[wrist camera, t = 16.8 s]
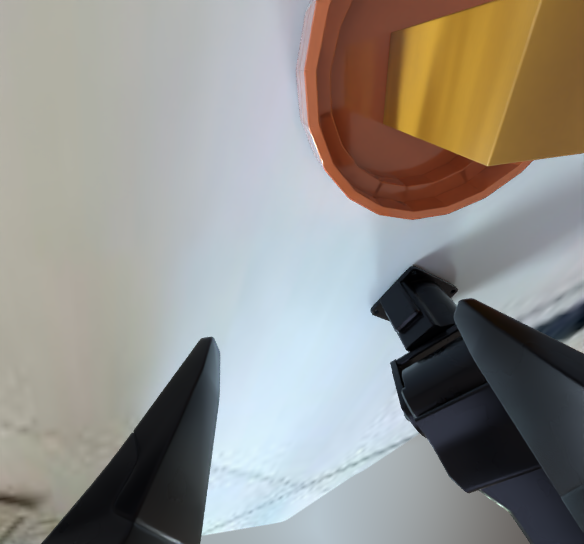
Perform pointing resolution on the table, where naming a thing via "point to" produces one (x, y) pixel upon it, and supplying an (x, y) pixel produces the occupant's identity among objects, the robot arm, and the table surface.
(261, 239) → the table surface
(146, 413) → the robot arm
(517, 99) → the ochre block
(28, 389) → the table surface
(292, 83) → the table surface
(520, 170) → the bowl
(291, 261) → the table surface
